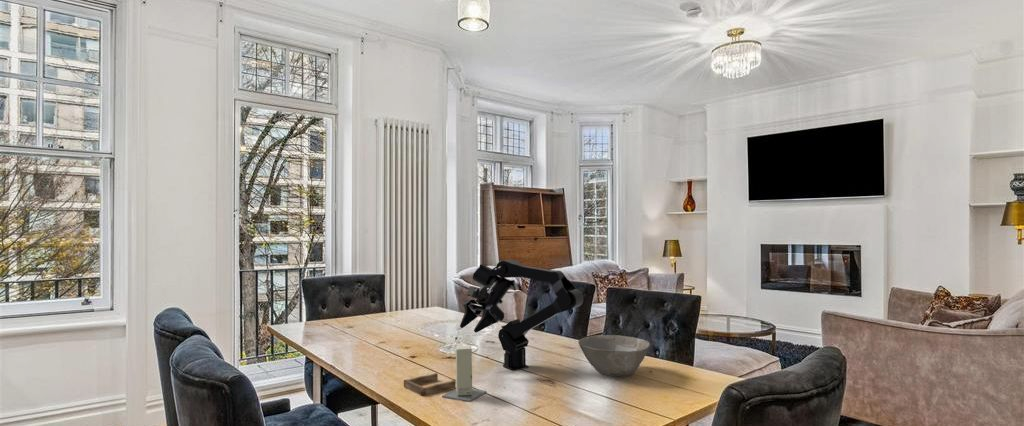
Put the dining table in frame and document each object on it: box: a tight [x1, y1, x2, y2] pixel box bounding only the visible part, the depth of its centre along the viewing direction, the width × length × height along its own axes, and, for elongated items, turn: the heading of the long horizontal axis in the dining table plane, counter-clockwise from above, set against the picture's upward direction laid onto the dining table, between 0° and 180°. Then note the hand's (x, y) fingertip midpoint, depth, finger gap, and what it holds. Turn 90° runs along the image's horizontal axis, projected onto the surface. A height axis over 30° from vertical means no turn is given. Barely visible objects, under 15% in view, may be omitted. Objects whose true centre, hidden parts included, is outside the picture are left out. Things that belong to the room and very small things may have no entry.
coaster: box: [441, 388, 487, 403], centre depth 147 cm, size 9×9×1 cm
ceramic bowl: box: [577, 334, 651, 377], centre depth 166 cm, size 22×23×10 cm
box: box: [455, 345, 473, 396], centre depth 147 cm, size 5×4×13 cm
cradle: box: [403, 372, 456, 397], centre depth 154 cm, size 11×11×2 cm
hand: (467, 329), depth 170 cm, fingers open, 9 cm apart
